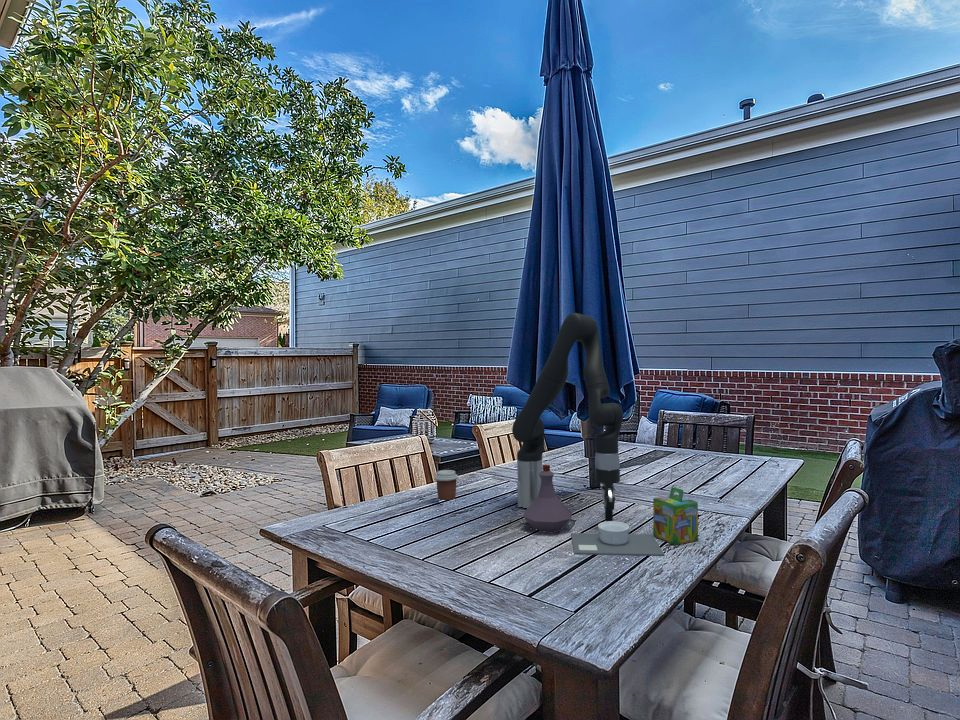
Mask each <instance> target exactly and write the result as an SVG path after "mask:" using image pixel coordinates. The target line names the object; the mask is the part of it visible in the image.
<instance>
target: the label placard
mask: <svg viewBox="0 0 960 720" xmlns="http://www.w3.org/2000/svg"><path fill="white" fill-rule="evenodd" d="M570 535H571V542H572V548H573V553H574V555H595V556H596V555H601V556H602V555H604V556H605V555H606V556H608V555H609V556H642V557H643V556H646V557H647V556H652V557H656V556H657V557H665V555H666V554H665V553H664V552H663V550H662V548H661V547H660V545H659V543H658V542H657V539H656V538H655V536H653V533H652V534H651V533H650V534H649V533H648V534H646V533H628V541H627V543H625V544H622V545H610V544H606V543H604V542H602V541H601V540H600V535H599V533H597V532H596V533H593V532H591V533H587V532H586V533H584V532H580V533H579V532H571V533H570Z"/></svg>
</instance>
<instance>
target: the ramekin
mask: <svg viewBox="0 0 960 720" xmlns="http://www.w3.org/2000/svg"><path fill="white" fill-rule="evenodd" d="M597 528H598V534H599V535H600V540H601V541H602V542H604V543H606V544H610V545H622V544H625V543H627V541H628V534H629V531H630V525H629V524H628V523H625V522H622V521H614V520H613V521H607V522H606V521H603V522H600V523H598V525H597Z"/></svg>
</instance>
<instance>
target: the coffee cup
mask: <svg viewBox="0 0 960 720" xmlns="http://www.w3.org/2000/svg"><path fill="white" fill-rule="evenodd" d="M433 478H434V480H435V481H436V482H435V483H436V489H437V491H436V492H437V500H438V499H440V500H445V501H446V500H453V499H455V500H456V498H457V497H456V495H457V494H456V493H457V479H459V475H457V473H456V470H451V469H441V470H438V471H437V472H436V475H434V477H433Z"/></svg>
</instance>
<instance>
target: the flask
mask: <svg viewBox="0 0 960 720" xmlns="http://www.w3.org/2000/svg"><path fill="white" fill-rule="evenodd" d="M554 475H555V472H553V471H552V470H551V465H550V464H542V472H540V473H539V476H540V478H541V486H540V490H539V495H538V497H537V498H536V499H535V501H534V502H533V503H532V504H531V505H530V506H529V507H528V508H527V509H525V511H524V513H523V515H522V517H523V519H525V521H526V522H527V524H529V525H530V527H531V528H532V529H533V528H535V529H537V530H539V531H538V532H540V531H545V532H544V533H551V532H553V533H556V532H560V531H562V530H563V529H564V527H566V525H567V524H568V523H569V522H570V520H572V516H573V512H572V511H571V509H569V508H568V507H567V506H566V505H565V504H564V503H563V502H562V501H561V500H560V498H559V497H558V495H557V494H556V490H555V487H554V483H553V478H554ZM535 529H534V530H535ZM537 530H536V531H537ZM559 530H560V531H559ZM555 531H556V532H555Z"/></svg>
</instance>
